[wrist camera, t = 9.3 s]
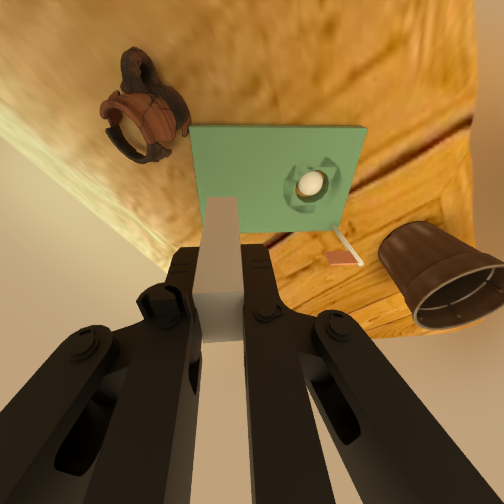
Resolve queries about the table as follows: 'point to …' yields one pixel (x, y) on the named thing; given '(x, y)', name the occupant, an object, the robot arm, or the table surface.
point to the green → (276, 172)
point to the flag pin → (343, 252)
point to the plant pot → (442, 276)
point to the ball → (310, 182)
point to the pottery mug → (145, 108)
